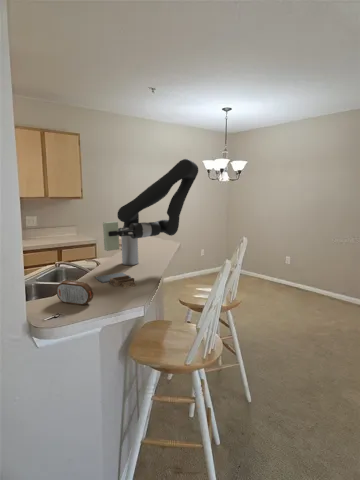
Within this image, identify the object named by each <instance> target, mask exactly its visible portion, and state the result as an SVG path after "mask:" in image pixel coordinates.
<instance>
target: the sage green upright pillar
mask: <svg viewBox="0 0 360 480" xmlns="http://www.w3.org/2000/svg"><path fill="white" fill-rule="evenodd" d="M102 227H103V231H102V232H103V246H104V251H107V252H110V251H117V250H118V251H119V250H120V236H109V233H108V232H110V231H116V232H117V230H118V228H119V222H118V221H106V222H103V223H102Z"/></svg>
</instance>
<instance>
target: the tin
mask: <svg viewBox="0 0 360 480" xmlns="http://www.w3.org/2000/svg"><path fill="white" fill-rule="evenodd" d="M55 292H56V296H57V298H58V299H59V301H61V302H62V303H65V304H71V305H78V306H85V305H87V304H89V303H90V302H92V300H93V298H94V292H93V288H92V287H91V286H90V285H89V284H88V283H87V282H84V281H76V280H75V281H74V280H69V279H67V280H63V281H62V282H60V283H59V284H57V285H56V288H55Z"/></svg>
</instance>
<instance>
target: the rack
mask: <svg viewBox="0 0 360 480" xmlns="http://www.w3.org/2000/svg"><path fill="white" fill-rule="evenodd" d="M129 276H130V275H128V274H126V275H125V276H120V277H114V278H110V282H109V283H110V284H112V285H113V286H114V287H119V286H120V287H121V285H122V283H124V282H129V281H134V282H135V278H134V277H131V278H129Z"/></svg>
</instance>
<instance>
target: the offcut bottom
mask: <svg viewBox="0 0 360 480" xmlns="http://www.w3.org/2000/svg"><path fill="white" fill-rule="evenodd" d="M136 286H137V284H136V283H135V285H131V286H126V287H124V286H122V285H120V287H121V288H124V289H126V288H131V287H136Z"/></svg>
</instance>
